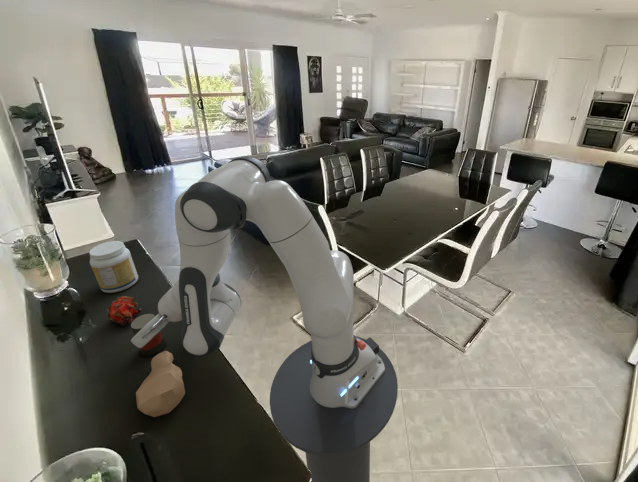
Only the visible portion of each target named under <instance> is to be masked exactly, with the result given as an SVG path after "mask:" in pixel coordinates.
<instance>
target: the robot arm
mask: <svg viewBox="0 0 638 482" xmlns="http://www.w3.org/2000/svg"><path fill="white" fill-rule="evenodd" d="M270 175H271V174H270V172H269V169H268V168H267V166H266V165H265V164H264V163H263V162H262V161H261V160H260V159H258V158H255V157H253V156H240V157H236V158H233V159H231V160H230V161H228V162H227V163H226V164H223V165H221V166H219V167H218V168H215V169H212V170H211V171H210V172H208V173H206V175H205V174H204V176H203V177H201V179H199V180H198V181H197V182H194V183H193V184H192V185H190V186H189V188H187V190H184V191H183V192H181V193H180V194H179V195H178V196H177V198H176V200H175V203H174V223H175V229H176V236H177V239H178V244H179V258H180V260H179V261H180V262H179V263H180V265H179V275H178V280H177V281H176V282H175V283H174V285H173V286H172V287H170V288H169V289H168V290H167V291H166V292H165V293H164V295H162V296H161V298H160V299H159V300H158V303H157V311H158V312H157V314H156V315H154V316H155V317H154V318H153V319H152V320H151V321H149V322H148V323H147V324H146V325H145V326H144V327H143V328H142V329H141V330H140V331H139V332H138V333H137V334H136V335H135V336H134V335H133V336H132V337H131V339H130V342H131V344H132V345H134V347H136V348H138V349H139V348H142V347H144V346H145V345H146V344H147V343H148V342H149V341H150V340H151V339H152V338H153V337H154V336H155V335H156V334H157V333H158V332H159V331H160V332H161V331H162V330H163V329H164V328H165V327H166V326H167V325H168V324H169V323H170V322H173V323H178V322H181V324H182V325H181V329H180V332H179V341H180V344H181V346H182V348H183V349H184V350H185V351H186V352H187V353H188V354H190V355H192V356H196V357H201V356H207V355H209V354H212V353H215V352H216V351H218V350H219V349H220V348H221V346H222V344H223V342H224V340H225V336H226V334H227V333H228V331H229V329H230V327H231V325H232V324H233V322H234V320H235V317H236V316H237V315H238V312H239V310H240V308H241V307H242V299H241V296H240V294H239V293H238V292H237V290H236V289H234V288H233V287H232V286H231V285H229V284H227V283H226V282H224V281H223V280H222V276H221V273H220V271H221V270H222V267H223V266H224V264H225V262H226V260H227V259H228V257H229V255H230V251H231V244H232V233H231V230H238V229H241V228H243V227H244V225H245V224H246V221H248V222H251V223H253V224H254V225H256V227H258V229H259V230H260V231H261V232H262V234H263V236H264V238H265V239H266V240H267V242H268V243H269V245H270V247H271V248H272V250H273V251H274V252H275V254H276V255H277V257H278V258H279V261H280V262H281V263H282V264H283V266H284V267H285V270H286V271H287V274H288V276H289V279H290V282H291V283H292V287H293V289H294V292H295V294H296V297H297V300H298V303H299V306H300V309H301V315H302V321H303V322H302V323H303V326H304V328H305V330H306V331H307V333H309V334H310V336H311V337H310V338H311V340H312V348H311V359H312V360H310V363H312V367H313V373H312V378H311V381H310V393H311V395H312V397H313V399H314V400H315V401H316V402H317V403H319V404H320V405H322V406H325V407H329V408H336V407H346V408H351V409H354V408H356V407H357V406H358V405H359V403H360V402H361V401H362V400H363V398H364V397H365V396H366V395H367V393H368V392H369V391H370V390H371V388H372V387H373V386H374V385H375V383H376V382H377V381H378V380H379V378H380V377H381V376H382V375H383V373H384V372H385V367H384V363H383V361H382V360H381V358H380V357H379V356H378V355H377V353H378V352H379V348H380V345H379V344H378V343H377V342H376V341H375V340H374V339H373V338H372V336H371V337H370V336H369V337H367V338H366V340H365V341H362V340H360V339H358V338H356V337H355V336H356V335H354V292H355V291H354V290H355V289H354V281H355V280H354V279H355V278H354V275H355V274H354V269H353V265H352V262H351V259H350V257H349V255H347V254H346V253H344V252H343V251H340V250H336V249H333V250H332V249H331V248H330V244H329V241H328V239H327V237H326V236H325V234H324V233H323V231H322V229H321V227H320V226H319V224H318V223H317V221H316V219H315V218H314V216H313V214H312V213H311V211H310V209H309V208H308V206H307V205H306V203H305V202H304V200H303V199H302V198H301V197H300V195H299V194H298V193H297V192H296V191H295V189H293V187H292V186H291V185H290V184H289V183H287V182H286V181H284V180H280V179H275V180H271V176H270ZM379 363H381V364H379ZM355 399H357V400H356V401H355Z"/></svg>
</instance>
